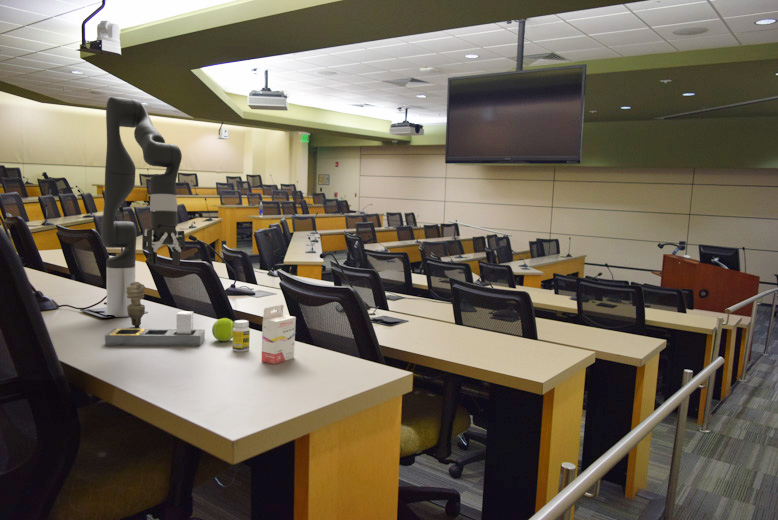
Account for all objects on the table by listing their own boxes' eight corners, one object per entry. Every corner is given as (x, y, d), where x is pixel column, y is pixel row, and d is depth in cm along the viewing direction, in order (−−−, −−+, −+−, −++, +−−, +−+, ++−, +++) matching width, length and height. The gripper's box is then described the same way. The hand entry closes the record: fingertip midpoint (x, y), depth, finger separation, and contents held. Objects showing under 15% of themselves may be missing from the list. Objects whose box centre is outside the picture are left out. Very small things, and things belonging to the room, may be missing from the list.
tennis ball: (210, 344, 166) (210, 321, 165) (213, 338, 173) (213, 316, 172) (234, 343, 167) (235, 321, 167) (236, 338, 174) (236, 316, 173)
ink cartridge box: (275, 365, 148) (276, 310, 147) (260, 361, 151) (262, 308, 149) (295, 357, 156) (296, 305, 154) (281, 354, 158) (282, 303, 157)
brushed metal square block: (179, 340, 168) (179, 311, 167) (193, 340, 169) (193, 311, 168) (176, 344, 164) (176, 314, 163) (190, 344, 165) (190, 314, 164)
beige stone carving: (139, 329, 179) (139, 283, 177) (123, 328, 179) (122, 282, 177) (147, 325, 185) (147, 280, 183) (131, 324, 185) (131, 280, 183)
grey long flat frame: (114, 338, 167) (114, 328, 166) (204, 339, 171) (204, 329, 171) (105, 345, 159) (104, 334, 159) (200, 345, 163) (200, 335, 163)
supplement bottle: (244, 352, 158) (245, 323, 157) (229, 351, 159) (229, 322, 158) (252, 348, 163) (252, 320, 162) (237, 347, 164) (237, 318, 163)
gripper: (172, 212, 174) (173, 264, 174) (134, 209, 161) (136, 265, 161) (191, 211, 171) (192, 264, 171) (154, 208, 157) (155, 265, 158)
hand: (164, 265), depth 166 cm, fingers open, 8 cm apart
